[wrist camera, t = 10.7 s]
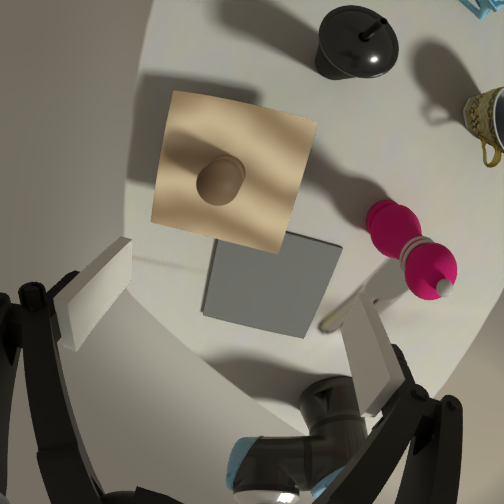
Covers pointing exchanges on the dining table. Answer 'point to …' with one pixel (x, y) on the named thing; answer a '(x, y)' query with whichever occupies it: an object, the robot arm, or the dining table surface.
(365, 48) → the drinking cup
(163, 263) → the dining table surface
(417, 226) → the pepper mill
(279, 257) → the mat
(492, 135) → the ceramic cup
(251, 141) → the lid
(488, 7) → the chair
